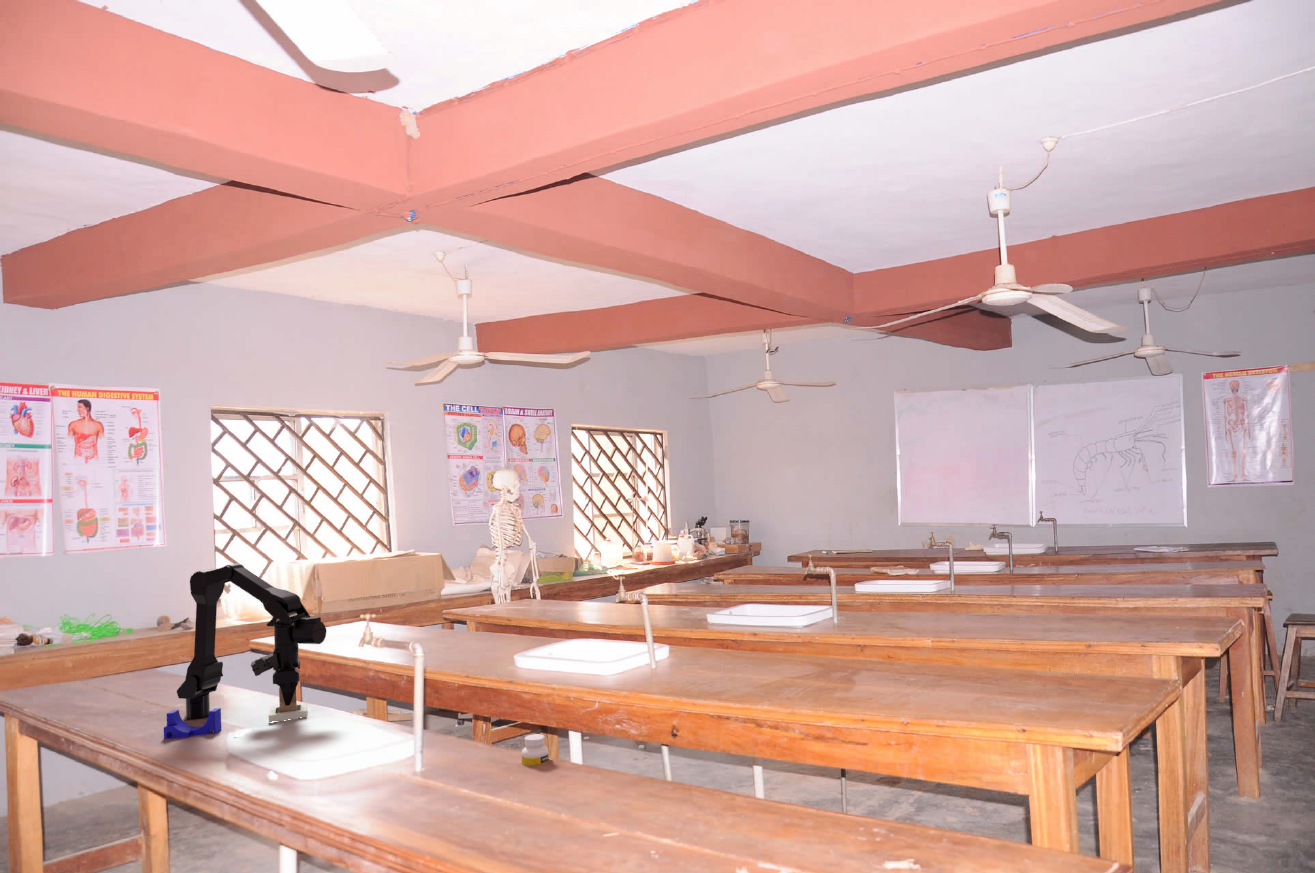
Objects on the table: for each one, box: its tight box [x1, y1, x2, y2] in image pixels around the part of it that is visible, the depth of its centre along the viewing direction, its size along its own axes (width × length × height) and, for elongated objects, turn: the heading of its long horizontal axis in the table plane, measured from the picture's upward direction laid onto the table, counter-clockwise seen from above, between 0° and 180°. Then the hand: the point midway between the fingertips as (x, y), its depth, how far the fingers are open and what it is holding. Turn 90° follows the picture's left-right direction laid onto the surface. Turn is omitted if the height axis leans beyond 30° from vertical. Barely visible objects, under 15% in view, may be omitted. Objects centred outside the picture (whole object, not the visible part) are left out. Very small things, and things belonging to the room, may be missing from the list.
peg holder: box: [268, 702, 308, 723], centre depth 235 cm, size 9×9×3 cm
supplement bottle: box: [521, 733, 549, 767], centre depth 181 cm, size 5×5×10 cm
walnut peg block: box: [278, 686, 298, 713], centre depth 236 cm, size 4×4×7 cm
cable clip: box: [163, 707, 222, 740], centre depth 226 cm, size 12×4×6 cm, turn 91°
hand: (287, 703), depth 236 cm, fingers closed on walnut peg block, 4 cm apart
